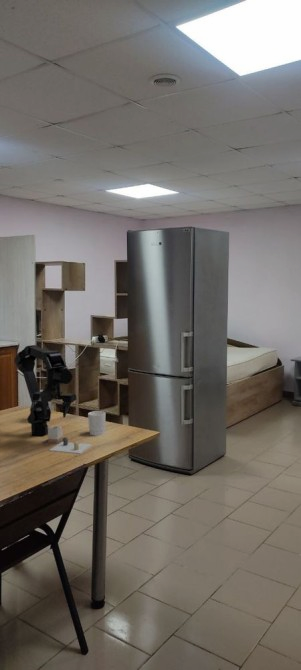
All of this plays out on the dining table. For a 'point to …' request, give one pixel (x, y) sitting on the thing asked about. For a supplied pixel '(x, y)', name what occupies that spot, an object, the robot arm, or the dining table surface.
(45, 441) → the mat
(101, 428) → the white cup
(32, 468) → the dining table surface
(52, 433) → the sleeve
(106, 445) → the dining table surface
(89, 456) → the dining table surface
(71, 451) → the pin board
